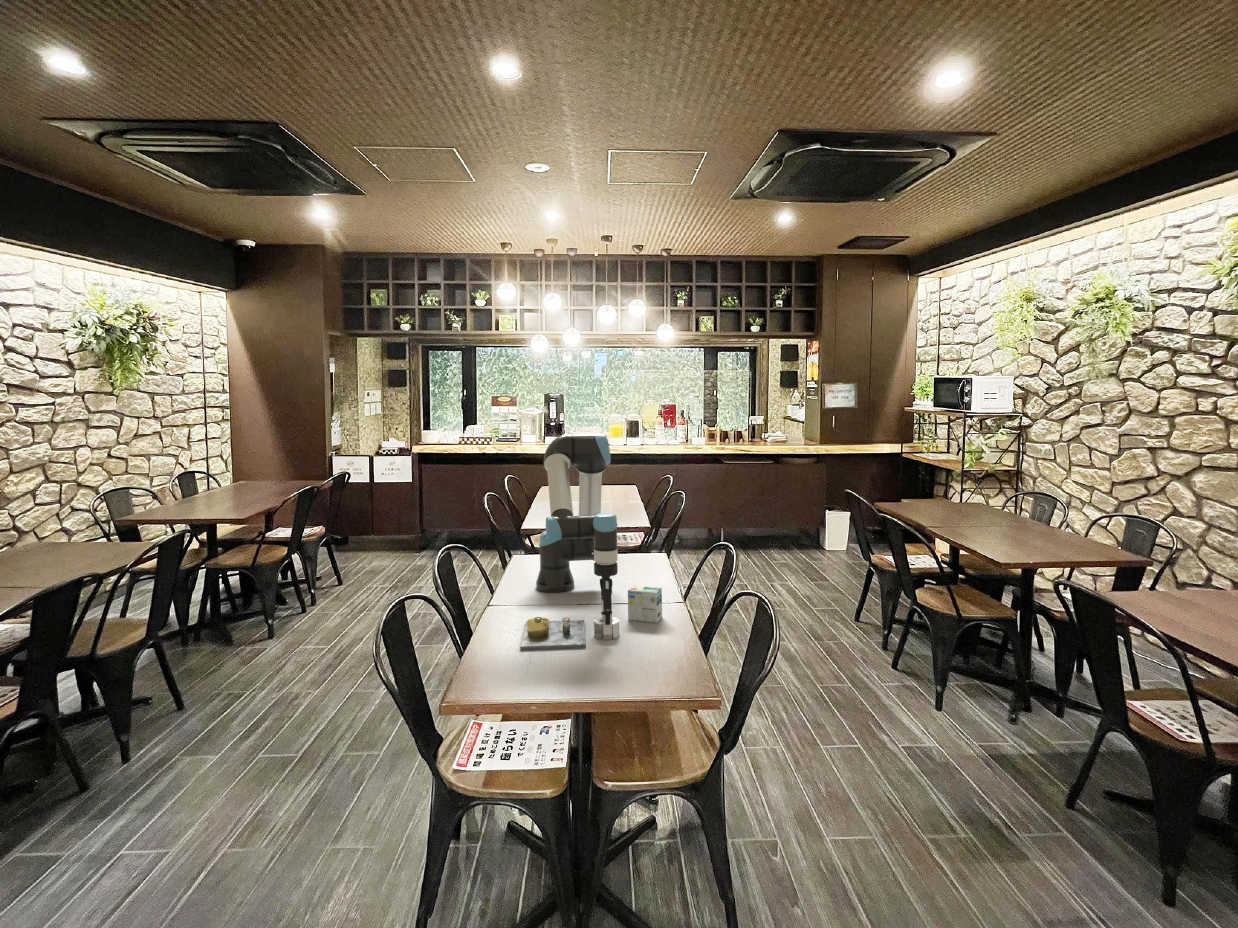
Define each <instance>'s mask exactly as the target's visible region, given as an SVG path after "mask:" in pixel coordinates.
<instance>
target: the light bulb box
mask: <svg viewBox="0 0 1238 928" xmlns="http://www.w3.org/2000/svg"><path fill="white" fill-rule="evenodd" d="M662 590H663V588H662V587H660V586H649V585H648V586H646V585H636V584H633V585H632V586H631V587H630V588H628V590H627V620H628V621H639V622H647V623H654V624H655V623H659V621H660V620H661V619H662V618H663V598H662V597H663V591H662Z"/></svg>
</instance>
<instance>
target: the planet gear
mask: <svg viewBox="0 0 1238 928" xmlns="http://www.w3.org/2000/svg"><path fill="white" fill-rule="evenodd" d="M593 630H594V631H593V633H594V634H593V635H594V638H595V639H598V640H601V641H602V640H603V641H612V640H616V639H618V638H619V637H620V619H619V618H618V617H614V616H612V634H603V617H602V616H599V617H597V618H594V620H593Z"/></svg>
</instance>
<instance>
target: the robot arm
mask: <svg viewBox="0 0 1238 928" xmlns="http://www.w3.org/2000/svg"><path fill="white" fill-rule="evenodd" d="M609 443H610V442H609V440H608V437H607V435H606V434H605V433H597V432H593V433H565V434H564V433H563V434H562V435H559V436H557V437H556V438H554V439H553V440H552V441H551V442H550V443H549V444H548V446H547V448H546V450H545V452H544V456H543V467H544V469H545V470H546V472H547V485H548V495H549V496H548V497H549V509H550V512H549V513H550V516H547V517H546V518H545V530H544V531H542V532H541V533H540V535H539V544H538V546H539V563H540V564H539V572H538V576H537V579H536V582H535V584H536V585H535V586H536V587H535V588H536V590H537V591H539V592H543V593H562V592H563V593H564V592H567V591H570V590H572V589H574V588H575V579H574V576H573V574H572V571H571V566H570V562H576V561H577V562H579V561H594V563H593V573H594V575H595V576H597V577H601V578H599V586H600V596H601V597H600V598H601V599H600V600H601V602H600V604H601V607H600V608H601V612H600V613H601V617H603V634H612V617H613V611H612V610H613V607H612V594H613V578H611V577H614V576H616V575H618V571H619V569H618V566H619V565H618V557H619V556H618V519H617V515H616V514H614V513H611V512H602V485H603V483H602V482H603V481H602V480H603V473H604V472H605V471H606V469H607V466H608V465H610V464H611V460H612V459H611V450H610V444H609ZM571 466H575V467H574V468H575V470H576V471H577V472H578V474H579V479H578V481H579V482H578V483H579V484H578V487H579V488H578V489H579V490H578V491H579V492H578V515H574V512H573V499H572V493H571V492H572V491H571V483H570V473H569V472H570V471H569V469H570V468H571Z"/></svg>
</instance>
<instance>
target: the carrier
mask: <svg viewBox="0 0 1238 928" xmlns="http://www.w3.org/2000/svg"><path fill="white" fill-rule="evenodd" d="M561 619H562V620H550V619H548V618H547V617H541V616H535V617H531V618H530V619H528V620H527V621H525V622H524V625H523V632H522V637H521V639H520V640H521V642H520V645H519V650H520V651H534V650H535V651H536V650H542V651H543V650H563V649H564V650H565V649H568V650H569V649H586V647H587V646H586V627H585V626H586V624H585V621H586V620H585V619H577V620H576V619H575V620H571V619H570V618H569V617H563V618H561Z"/></svg>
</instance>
